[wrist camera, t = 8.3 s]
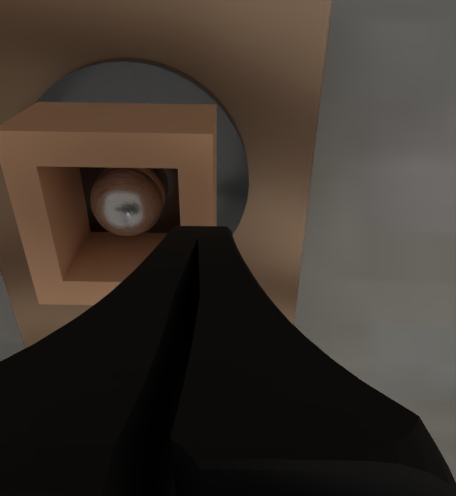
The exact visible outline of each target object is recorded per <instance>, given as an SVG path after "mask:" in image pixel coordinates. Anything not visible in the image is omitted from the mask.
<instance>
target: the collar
mask: <svg viewBox="0 0 456 496" xmlns="http://www.w3.org/2000/svg"><path fill="white" fill-rule="evenodd" d="M0 164H1V168H2V171H3V175H4V179H5V182H6V186H7V190H8V193H9V197H10V201H11V204H12V208H13V211H14V215H15V219H16V222H17V226H18V230H19V233H20V237H21V241H22V244H23V248H24V252H25V255H26V259H27V262H28V266H29V270H30V273H31V277H32V281H33V284H34V288H35V292H36V295H37V299H38V303H39V304H50V305H95V304H96V303H97V302H99V301H100V300H101V299H102V298H104V297H105V296H106V295H107V294H109V293H110V292H111V291H112V290H113V289H114V288H115V287H117V286H118V285H119V284H120V283H121V282H122V281H123V280H124V279H125V278H126V277H127V276H129V275H130V274H131V273H132V272H133V271H134V270H135V269H136V268H137V267H138V266H139V265H140V264H141V263H142V262H143V261H144V259H145V258H146V257H147V256H148V255H149V254H150V253H151V252H152V251H153V250H154V249H155V248H156V247H157V245H158V244H159V243H160V242H161V241H162V240H163V239H164V237H165V236H166V235H167V234H168V233H142V234H139V235H135V236H120V235H116V234H114V233H111V232H91V231H90V225H89V219H88V214H87V208H86V202H85V197H84V191H83V185H82V179H81V174H80V168H79V167H111V168H175V169H178V185H179V205H180V225H181V226H217V105H214V104H151V103H88V102H37V103H35V104H34V105H32V106H30V107H29V108H27V109H26V110H24V111H22V112H21V113H19V114H18V115H16V116H14V117H13V118H11V119H9V120H8V121H6V122H5V123H3V124H1V125H0Z"/></svg>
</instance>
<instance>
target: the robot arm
mask: <svg viewBox="0 0 456 496" xmlns="http://www.w3.org/2000/svg"><path fill="white" fill-rule="evenodd" d="M0 496H456V482H455V480H454V478H453V476H452V473H451V471H450V469H449V467H448V465H447V463H446V462H445V460H444V458H443V456H442V454H441V453H440V451H439V449H438V447H437V445H436V444H435V442H434V440H433V439H432V437H431V435H430V434H429V432H428V430H427V429H426V427H425V425H424V424H423V422H422V420H421V419H420V417H419V416H418V415H416V414H415V413H413V412H411V411H410V410H408V409H407V408H405V407H403V406H402V405H400V404H398V403H397V402H395V401H394V400H392V399H390V398H389V397H387V396H385V395H384V394H382V393H380V392H379V391H377V390H376V389H374V388H372V387H371V386H369V385H367V384H366V383H364V382H363V381H361V380H360V379H359V378H357V377H356V376H354V375H353V374H352V373H350V372H349V371H348V370H346V369H345V368H343V367H342V366H341V365H339V364H338V363H336V362H335V361H334V360H333V359H331V358H330V357H329V356H328V355H326V354H325V353H324V352H323V351H322V350H321V349H319V348H318V347H317V346H316V345H315V344H314V343H312V342H311V341H310V340H309V339H308V338H306V337H305V336H304V335H303V334H302V333H301V332H300V331H299V330H298V329H297V328H296V327H295V326H294V325H293V324H292V323H291V322H290V321H289V320H288V319H287V318H286V316H285V315H284V314H283V313H282V312H281V311H280V310H279V309H278V308H277V306H276V305H275V304H274V303H273V302H272V300H271V299H270V298H269V297H268V295H267V294H266V293H265V291H264V290H263V289H262V287H261V286H260V285H259V283H258V282H257V280H256V279H255V277H254V276H253V274H252V273H251V271H250V269H249V268H248V266H247V264H246V263H245V261H244V259H243V258H242V256H241V254H240V252H239V250H238V248H237V246H236V243H235V241H234V238H233V235H232V231H231V230H230V229H229V228H228V227H227V226H175V227H174V228H172V229H171V230H170V232H169V233H168V234H167V235H166V236H165V237H164V239H163V240H162V241H161V242H160V243H159V244H158V245H157V247H156V248H155V249H154V250H153V251H152V252H151V253H150V254H149V255H148V256H147V257H146V258H145V259H144V261H143V262H142V263H141V264H140V265H139V266H138V267H137V268H136V269H135V270H134V271H133V272H132V273H131V274H130V275H129V276H127V277H126V278H125V279H124V280H123V281H122V282H121V283H120V284H119V285H118V286H117V287H115V288H114V289H113V290H112V291H111V292H110V293H109V294H107V295H106V296H105V297H104V298H102V299H101V300H100V301H99V302H97V303H96V304H95V305H93V306H92V307H90V308H89V309H88V310H86V311H85V312H84V313H82V314H81V315H79V316H78V317H76V318H75V319H74V320H72V321H70V322H69V323H67V324H65V325H64V326H62V327H61V328H59V329H57V330H56V331H54V332H52V333H51V334H49V335H48V336H46V337H44V338H43V339H41V340H40V341H38V342H36V343H35V344H33V345H31V346H29V347H27V348H25V349H24V350H22V351H20V352H18V353H16V354H14V355H12V356H10V357H9V358H7V359H5V360H3V361H1V362H0Z"/></svg>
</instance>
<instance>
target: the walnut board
mask: <svg viewBox="0 0 456 496" xmlns="http://www.w3.org/2000/svg"><path fill="white" fill-rule="evenodd" d="M331 1H332V0H0V125H1V124H3V123H5V122H6V121H8V120H9V119H11V118H13V117H14V116H16V115H18V114H19V113H21V112H22V111H24V110H26V109H27V108H29V107H30V106H32V105H34V104H35V103H36V102H37V101H38V99H39V98H40V97H41V96H42V95H43V94H44V93H45V92H46V91H47V89H49V88H50V87H51V86H52V85H54V84H55V83H56V82H57V81H59V80H60V79H62V78H63V77H65V76H67V75H69V74H71V73H72V72H74V71H76V70H78V69H79V68H81V67H84V66H86V65H89V64H92V63H94V62H98V61H103V60H107V59H114V58H138V59H146V60H151V61H155V62H160V63H163V64H165V65H168V66H171V67H174V68H176V69H178V70H180V71H182V72H184V73H186V74H188V75H190V76H191V77H193V78H194V79H196V80H197V81H198V82H200V83H201V84H203V85H204V86H205V87H206V88H207V89H208V90H210V91H211V92H212V93H213V94H214V95H215V96H216V97H217V98H218V99H219V101H220V102H221V103H222V104H223V105H224V106H225V108H226V109H227V110H228V112H229V114H230V115H231V117H232V118H233V120H234V121H235V123H236V125H237V128H238V130H239V132H240V134H241V137H242V140H243V143H244V146H245V149H246V155H247V161H248V171H249V190H248V199H247V203H246V207H245V211H244V214H243V216H242V218H241V221H240V223H239V225H238V227H237V228H236V230H235V232H234V234H233V238H234V241H235V243H236V246H237V248H238V250H239V252H240V254H241V256H242V258H243V259H244V261H245V263H246V264H247V266H248V268H249V269H250V271H251V273H252V274H253V276H254V277H255V279H256V280H257V282H258V283H259V285H260V286H261V287H262V289H263V290H264V291H265V293H266V294H267V295H268V297H269V298H270V299H271V300H272V302H273V303H274V304H275V305H276V306H277V308H278V309H279V310H280V311H281V312H282V313H283V314H284V315H285V316H286V318H287V319H288V320H289V321H290V322H291V323H292V324H293V325H294V318H295V310H296V301H297V293H298V284H299V276H300V267H301V258H302V250H303V241H304V233H305V224H306V216H307V207H308V198H309V190H310V181H311V173H312V164H313V156H314V147H315V138H316V130H317V121H318V113H319V104H320V95H321V87H322V78H323V70H324V61H325V53H326V44H327V35H328V27H329V18H330V10H331ZM0 271H1V274H2V277H3V280H4V283H5V286H6V290H7V293H8V296H9V299H10V302H11V305H12V308H13V311H14V314H15V317H16V320H17V324H18V327H19V330H20V333H21V336H22V339H23V342H24V345H25V348H27V347H29V346H31V345H33V344H35V343H36V342H38V341H40V340H41V339H43V338H44V337H46V336H48V335H49V334H51V333H52V332H54V331H56V330H57V329H59V328H61V327H62V326H64V325H65V324H67V323H69V322H70V321H72V320H74V319H75V318H76V317H78V316H79V315H81V314H82V313H84V312H85V311H86V310H88V309H89V308H90V307H92V306H93V305H50V304H39V303H38V299H37V295H36V292H35V288H34V284H33V281H32V277H31V273H30V270H29V266H28V262H27V259H26V255H25V252H24V248H23V244H22V241H21V237H20V233H19V230H18V226H17V222H16V219H15V215H14V211H13V208H12V204H11V201H10V197H9V193H8V190H7V186H6V182H5V179H4V175H3V171H2V168H1V164H0Z"/></svg>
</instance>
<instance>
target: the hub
mask: <svg viewBox="0 0 456 496" xmlns="http://www.w3.org/2000/svg"><path fill="white" fill-rule="evenodd" d="M37 102H88V103H151V104H214V105H217V226H227V227H228V228H229V229H230V230H231V231H232V235H233V234H234V232H235V230H236V228H237V227H238V225H239V223H240V221H241V218H242V216H243V214H244V211H245V207H246V203H247V199H248V190H249V171H248V161H247V155H246V149H245V146H244V143H243V140H242V137H241V134H240V132H239V130H238V128H237V125H236V123H235V121H234V120H233V118H232V117H231V115H230V114H229V112H228V110H227V109H226V108H225V106H224V105H223V104H222V103H221V102H220V101H219V99H218V98H217V97H216V96H215V95H214V94H213V93H212V92H211V91H210V90H208V89H207V88H206V87H205V86H204V85H203V84H201V83H200V82H198V81H197V80H196V79H194V78H193V77H191V76H190V75H188V74H186V73H184V72H182V71H180V70H178V69H176V68H174V67H171V66H168V65H165V64H163V63H160V62H155V61H151V60H146V59H138V58H114V59H107V60H103V61H98V62H94V63H92V64H89V65H86V66H84V67H81V68H79V69H78V70H76V71H74V72H72V73H71V74H69V75H67V76H65V77H63V78H62V79H60V80H59V81H57V82H56V83H55V84H54V85H52V86H51V87H50V88H49V89H47V91H46V92H45V93H44V94H43V95H42V96H41V97H40V98H39V99H38V101H37ZM37 102H36V103H37ZM79 168H80V174H81V179H82V185H83V191H84V197H85V202H86V208H87V214H88V219H89V225H90V231H91V232H111V233H114V234H116V235H120V236H135V235H139V234H142V233H169V232H170V230H171V229H172V228H174V227H175V226H181V225H180V205H179V185H178V169H175V168H111V167H79Z"/></svg>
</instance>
